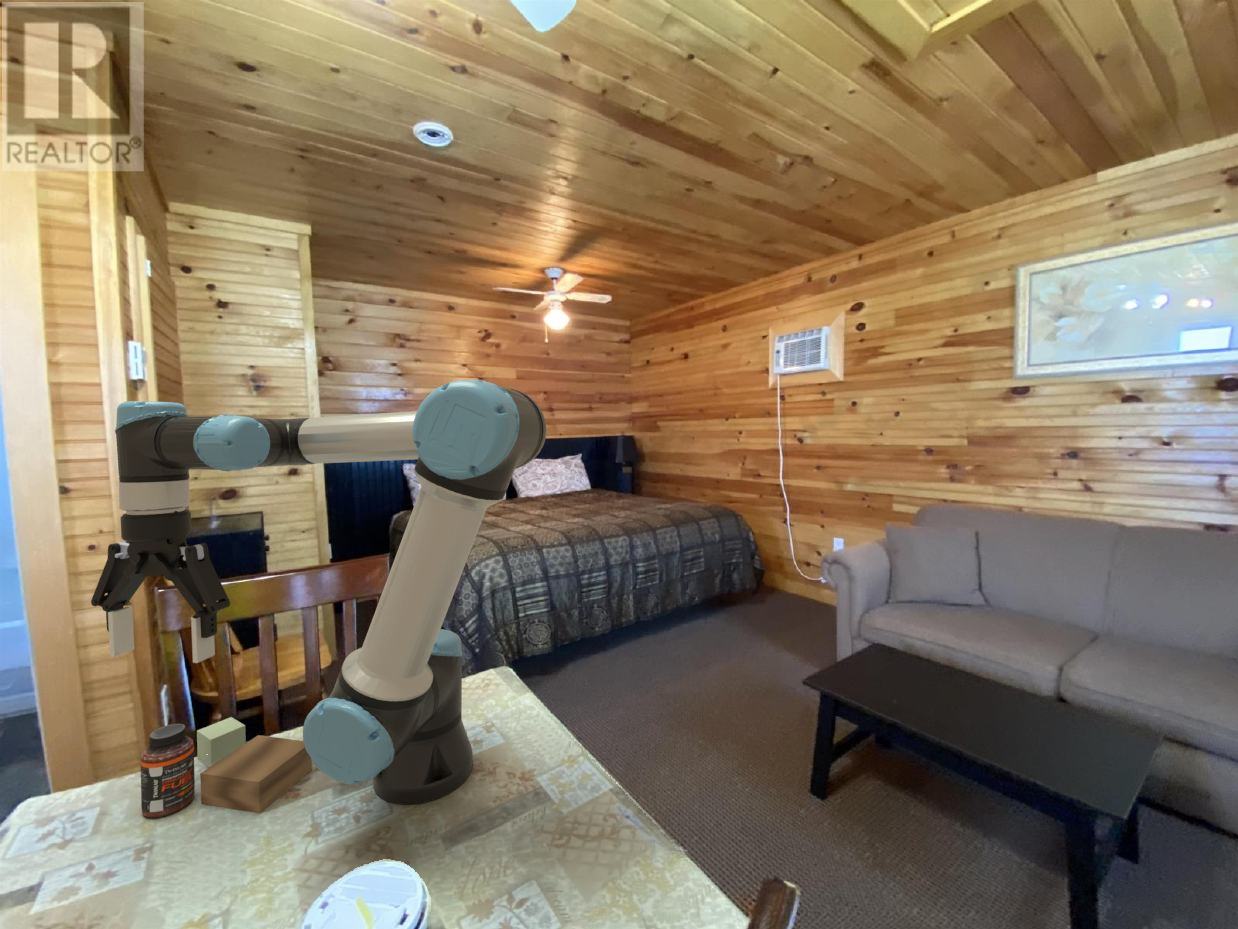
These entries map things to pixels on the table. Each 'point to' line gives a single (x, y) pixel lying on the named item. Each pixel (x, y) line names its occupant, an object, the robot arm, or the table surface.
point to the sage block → (219, 740)
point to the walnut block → (255, 774)
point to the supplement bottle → (167, 771)
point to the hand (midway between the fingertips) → (162, 656)
